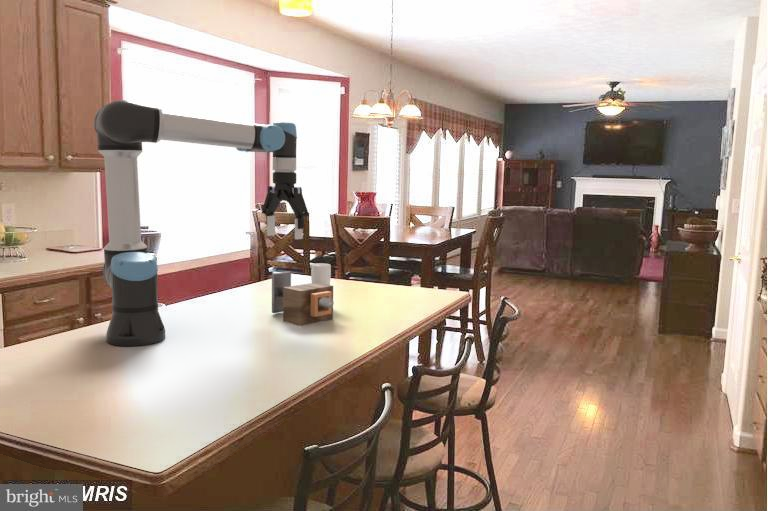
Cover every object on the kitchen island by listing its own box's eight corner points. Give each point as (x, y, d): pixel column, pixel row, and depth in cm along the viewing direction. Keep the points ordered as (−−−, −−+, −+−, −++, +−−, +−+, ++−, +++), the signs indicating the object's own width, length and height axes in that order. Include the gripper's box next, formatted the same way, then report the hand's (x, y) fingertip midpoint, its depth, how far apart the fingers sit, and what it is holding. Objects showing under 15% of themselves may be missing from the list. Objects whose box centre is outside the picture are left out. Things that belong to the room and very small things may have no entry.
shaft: (321, 325, 194) (321, 283, 192) (271, 312, 210) (271, 273, 208) (338, 322, 199) (338, 281, 197) (288, 309, 215) (288, 271, 213)
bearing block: (299, 325, 195) (299, 291, 194) (283, 321, 201) (283, 287, 199) (332, 318, 205) (333, 285, 204) (316, 314, 211) (316, 282, 209)
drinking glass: (331, 305, 226) (332, 263, 224) (328, 309, 219) (328, 266, 217) (313, 304, 226) (313, 262, 224) (309, 308, 220) (309, 265, 218)
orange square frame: (314, 316, 195) (315, 294, 195) (310, 315, 197) (310, 293, 196) (331, 313, 200) (331, 291, 200) (327, 312, 202) (327, 291, 201)
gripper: (320, 172, 200) (319, 239, 203) (268, 171, 216) (268, 233, 219) (302, 172, 194) (301, 241, 197) (250, 170, 210) (251, 234, 213)
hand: (284, 237), depth 208 cm, fingers open, 13 cm apart
